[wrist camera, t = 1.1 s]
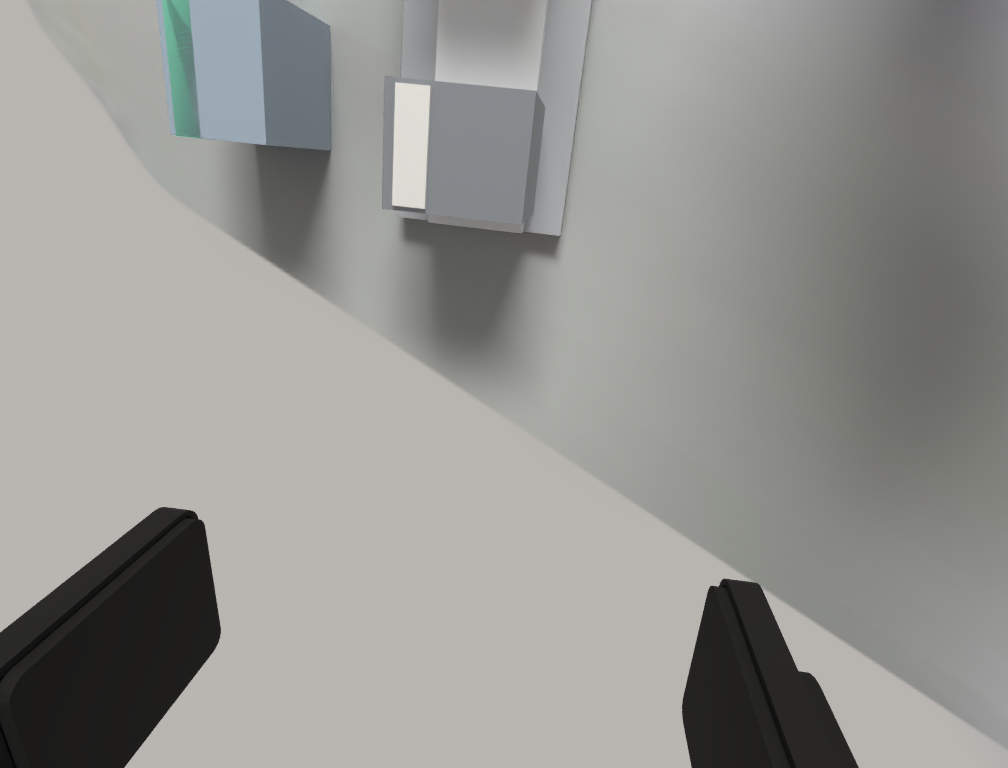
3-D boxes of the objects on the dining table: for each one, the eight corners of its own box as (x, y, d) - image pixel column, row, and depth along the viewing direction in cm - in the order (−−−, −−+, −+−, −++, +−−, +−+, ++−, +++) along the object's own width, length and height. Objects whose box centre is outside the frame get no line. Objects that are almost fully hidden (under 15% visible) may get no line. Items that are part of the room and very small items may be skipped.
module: (247, 18, 29) (153, -26, 23) (330, 25, 29) (258, -17, 23) (255, 142, 32) (170, 135, 25) (331, 151, 31) (266, 145, 25)
